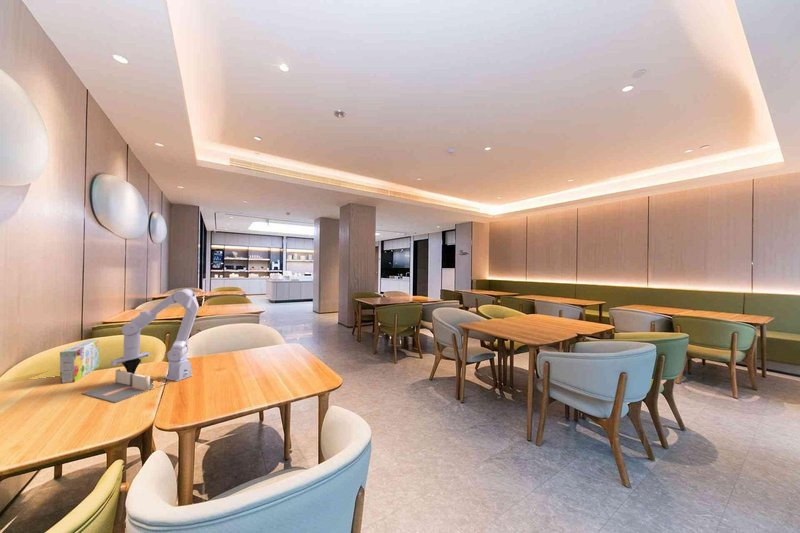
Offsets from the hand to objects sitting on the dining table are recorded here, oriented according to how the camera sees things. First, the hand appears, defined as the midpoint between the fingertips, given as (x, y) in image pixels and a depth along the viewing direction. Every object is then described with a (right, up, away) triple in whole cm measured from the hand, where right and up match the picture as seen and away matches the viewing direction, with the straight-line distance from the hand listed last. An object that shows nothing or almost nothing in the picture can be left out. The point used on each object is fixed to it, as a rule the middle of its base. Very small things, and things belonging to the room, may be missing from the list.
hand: (131, 375), depth 136 cm
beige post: (+1, -2, -4) cm, 5 cm away
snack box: (-31, -2, +6) cm, 31 cm away
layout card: (+5, -3, -7) cm, 9 cm away
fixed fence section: (+11, -3, -7) cm, 14 cm away
